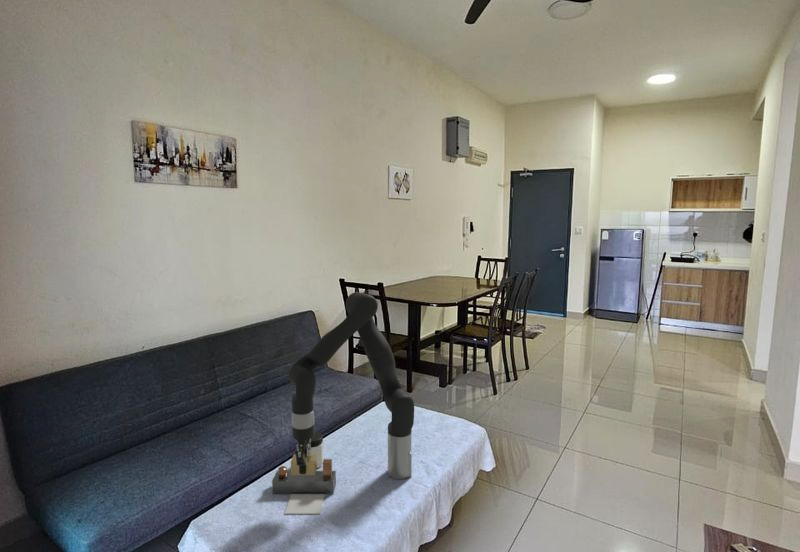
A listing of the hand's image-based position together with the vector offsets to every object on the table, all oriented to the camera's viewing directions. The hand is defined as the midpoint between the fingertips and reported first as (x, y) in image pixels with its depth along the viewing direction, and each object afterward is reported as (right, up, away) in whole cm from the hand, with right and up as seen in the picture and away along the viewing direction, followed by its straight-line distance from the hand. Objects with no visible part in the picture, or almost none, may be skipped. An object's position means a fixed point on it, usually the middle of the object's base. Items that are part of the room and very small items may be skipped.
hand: (304, 469), depth 153 cm
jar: (-2, -10, +27) cm, 28 cm away
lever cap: (0, -1, 0) cm, 1 cm away
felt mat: (0, -13, +2) cm, 13 cm away
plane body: (-2, -12, +11) cm, 16 cm away
